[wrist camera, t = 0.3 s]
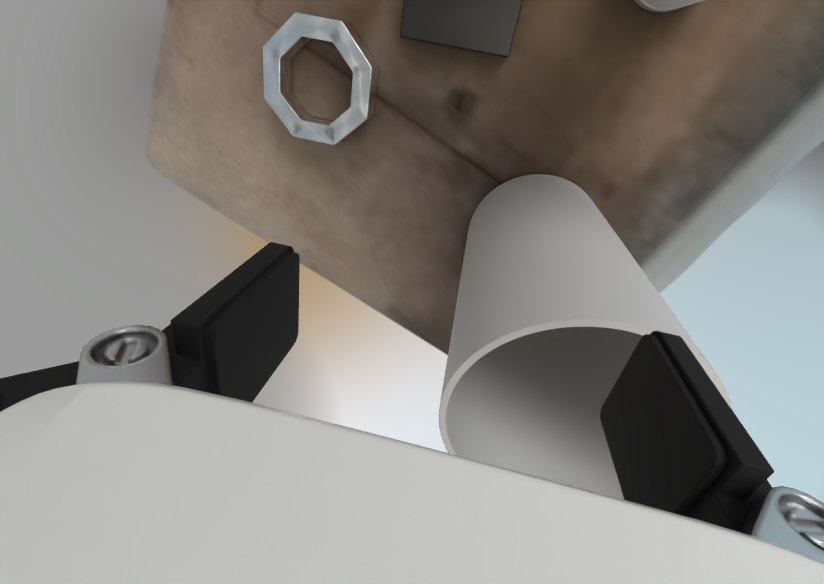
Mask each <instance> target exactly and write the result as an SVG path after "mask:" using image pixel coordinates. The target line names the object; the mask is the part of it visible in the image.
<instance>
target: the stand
mask: <svg viewBox="0 0 824 584" xmlns="http://www.w3.org/2000/svg"><path fill="white" fill-rule="evenodd" d="M522 1H523V0H404V5H403V13H402V22H401V30H400V37H404V38H409V39H414V40H419V41H425V42H430V43H435V44H441V45H446V46H451V47H456V48H462V49H467V50H472V51H478V52H483V53H488V54H493V55H499V56H504V57H509V54H510V50H511V45H512V41H513V37H514V33H515V29H516V25H517V21H518V17H519V13H520V9H521V5H522Z"/></svg>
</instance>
